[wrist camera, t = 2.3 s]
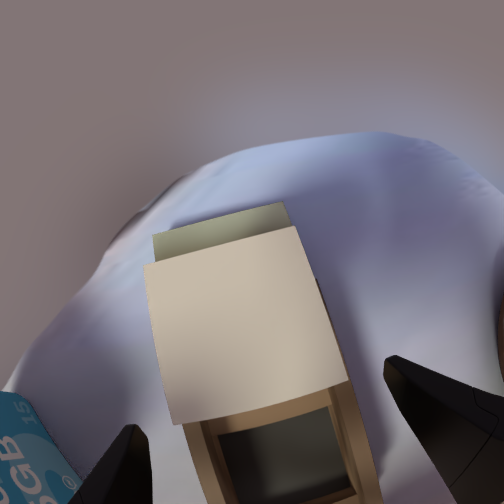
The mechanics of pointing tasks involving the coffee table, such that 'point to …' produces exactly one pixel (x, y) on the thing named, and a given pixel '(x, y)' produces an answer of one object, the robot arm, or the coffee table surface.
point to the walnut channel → (276, 414)
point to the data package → (30, 458)
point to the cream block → (240, 327)
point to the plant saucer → (501, 338)
